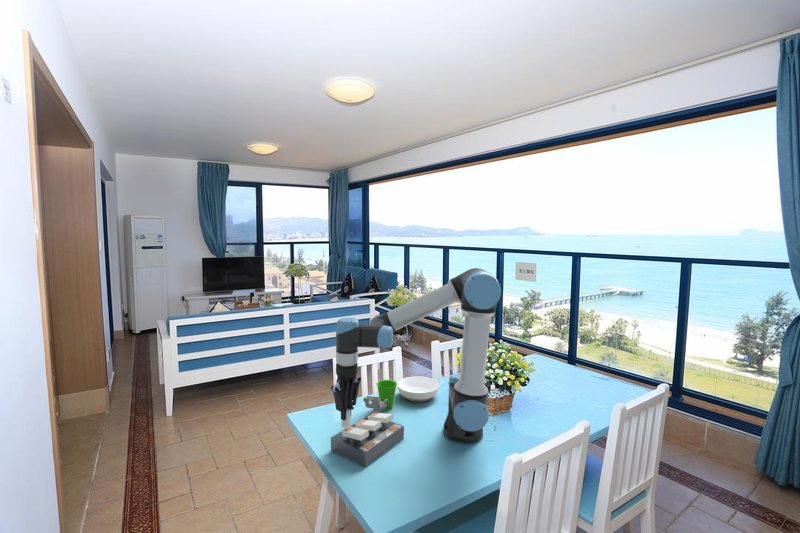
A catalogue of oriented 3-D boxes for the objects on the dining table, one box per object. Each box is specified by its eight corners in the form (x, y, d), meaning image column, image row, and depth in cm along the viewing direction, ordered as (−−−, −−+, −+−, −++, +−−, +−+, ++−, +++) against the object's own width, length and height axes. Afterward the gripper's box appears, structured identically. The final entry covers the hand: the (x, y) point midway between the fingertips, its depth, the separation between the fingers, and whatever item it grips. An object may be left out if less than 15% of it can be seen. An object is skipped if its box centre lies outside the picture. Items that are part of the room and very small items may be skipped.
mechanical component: (387, 425, 156) (387, 401, 155) (363, 422, 158) (363, 398, 158) (389, 421, 159) (389, 397, 158) (365, 418, 161) (365, 395, 160)
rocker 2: (381, 426, 140) (380, 420, 140) (374, 430, 137) (373, 425, 137) (363, 424, 146) (362, 419, 146) (356, 428, 142) (355, 423, 142)
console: (403, 438, 146) (403, 423, 146) (365, 467, 129) (365, 449, 128) (371, 425, 156) (371, 411, 155) (330, 451, 138) (330, 434, 137)
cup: (373, 410, 169) (372, 385, 168) (381, 401, 177) (381, 378, 176) (392, 414, 166) (392, 389, 165) (400, 405, 174) (400, 381, 173)
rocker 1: (369, 435, 135) (368, 429, 135) (361, 440, 131) (360, 434, 131) (350, 431, 140) (349, 425, 140) (342, 436, 137) (341, 430, 137)
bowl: (393, 404, 175) (393, 391, 174) (400, 386, 194) (401, 375, 194) (437, 407, 172) (437, 394, 171) (440, 389, 191) (440, 377, 190)
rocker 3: (393, 418, 146) (392, 413, 146) (386, 423, 143) (385, 417, 143) (375, 417, 151) (374, 412, 151) (368, 421, 148) (367, 416, 148)
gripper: (351, 355, 143) (350, 416, 146) (325, 365, 132) (324, 431, 135) (367, 360, 139) (366, 423, 141) (341, 370, 128) (340, 438, 131)
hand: (345, 427), depth 138 cm, fingers closed
